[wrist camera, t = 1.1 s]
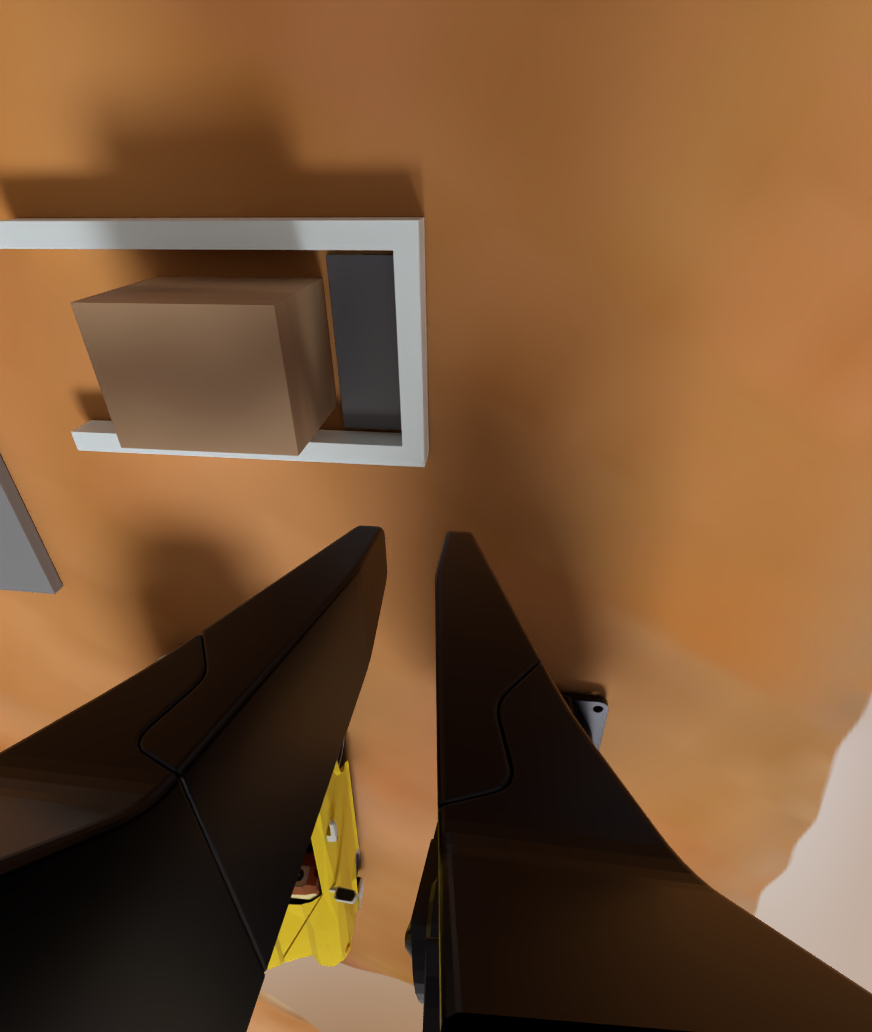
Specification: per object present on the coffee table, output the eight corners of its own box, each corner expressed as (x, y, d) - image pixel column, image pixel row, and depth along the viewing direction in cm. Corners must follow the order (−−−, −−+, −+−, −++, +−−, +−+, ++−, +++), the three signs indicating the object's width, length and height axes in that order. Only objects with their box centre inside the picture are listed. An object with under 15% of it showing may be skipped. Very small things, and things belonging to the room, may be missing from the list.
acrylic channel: (428, 453, 21) (424, 467, 20) (97, 437, 23) (78, 450, 22) (424, 217, 17) (418, 220, 16) (16, 218, 19) (-12, 221, 18)
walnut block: (338, 404, 21) (298, 456, 17) (190, 399, 22) (120, 447, 18) (323, 277, 19) (274, 305, 15) (158, 276, 19) (70, 302, 16)
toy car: (225, 856, 42) (153, 1027, 34) (136, 618, 29) (-20, 801, 21) (385, 880, 41) (351, 1063, 33) (367, 642, 28) (302, 847, 19)
